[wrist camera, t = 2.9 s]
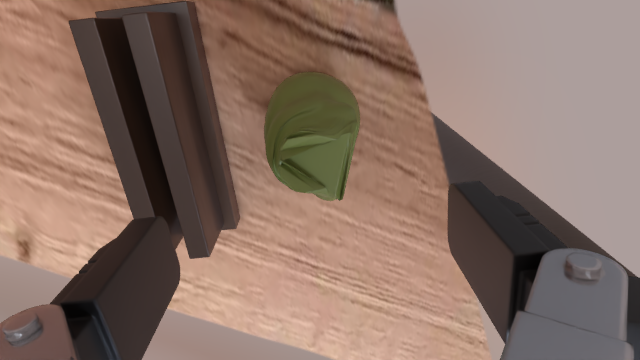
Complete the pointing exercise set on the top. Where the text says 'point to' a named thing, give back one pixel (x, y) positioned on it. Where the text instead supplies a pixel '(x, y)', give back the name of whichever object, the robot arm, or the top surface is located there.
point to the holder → (161, 118)
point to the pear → (312, 134)
